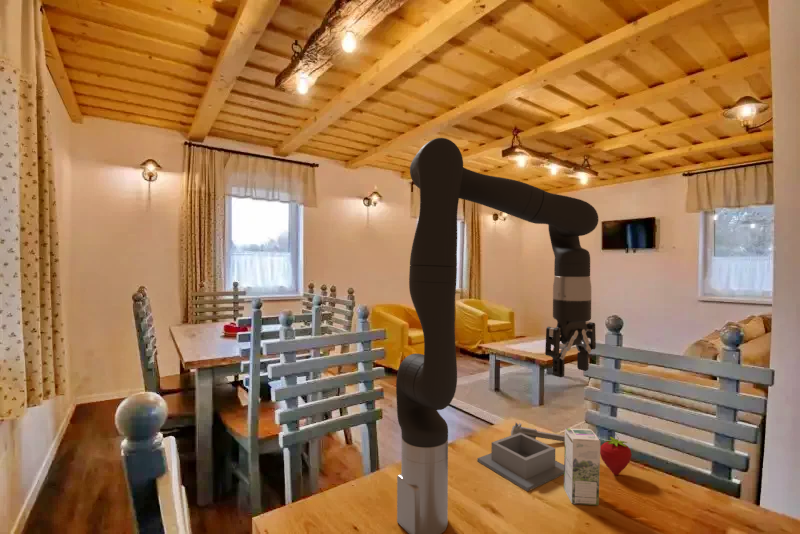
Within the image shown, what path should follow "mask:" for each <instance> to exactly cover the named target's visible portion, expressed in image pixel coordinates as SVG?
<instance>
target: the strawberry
mask: <svg viewBox="0 0 800 534" xmlns="http://www.w3.org/2000/svg"><path fill="white" fill-rule="evenodd" d="M613 433H614V434H615V437H617V438H614V437H612V436H609V438H610V440H604V443H601V444H600V459H601V460H602V461H603V463H604V464H605V465H606V467H607V468H608V469H609V470H610V472H611V473H612V474H613V475H615V476H616V475H617V476H618V475H619V474H620V473H622V472H623V470H625V469H626V467H627V466H628V464H629V463H630V461H631V458H632V450H631V448H630V447H629V446H628V445H627V443H628V441H624V440H619V437H618V435H617V434H616V432H613Z"/></svg>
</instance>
